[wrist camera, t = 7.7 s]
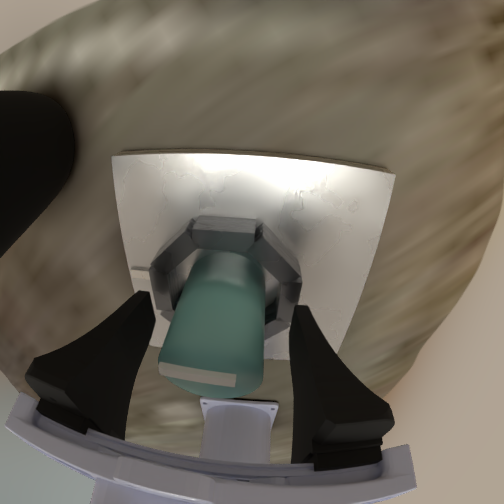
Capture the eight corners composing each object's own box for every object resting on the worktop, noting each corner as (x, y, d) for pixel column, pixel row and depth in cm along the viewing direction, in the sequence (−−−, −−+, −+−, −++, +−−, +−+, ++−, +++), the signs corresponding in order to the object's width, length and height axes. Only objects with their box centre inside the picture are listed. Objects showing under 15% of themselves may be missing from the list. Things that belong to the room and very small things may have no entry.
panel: (331, 348, 20) (336, 376, 18) (154, 334, 20) (144, 360, 18) (386, 168, 13) (409, 184, 10) (122, 151, 13) (95, 164, 10)
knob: (271, 257, 14) (271, 356, 9) (259, 317, 17) (255, 408, 11) (188, 247, 14) (148, 337, 9) (189, 307, 17) (163, 394, 11)
